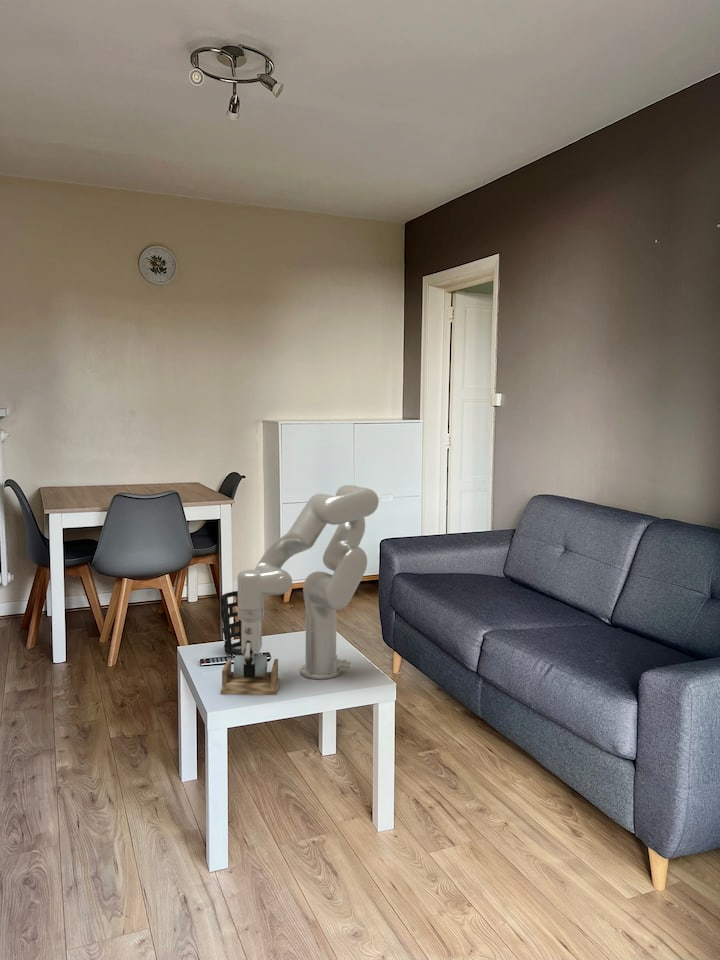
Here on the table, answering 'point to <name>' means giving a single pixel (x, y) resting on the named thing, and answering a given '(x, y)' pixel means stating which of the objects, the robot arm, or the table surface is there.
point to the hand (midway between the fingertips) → (250, 672)
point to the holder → (227, 625)
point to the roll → (259, 663)
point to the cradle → (250, 682)
